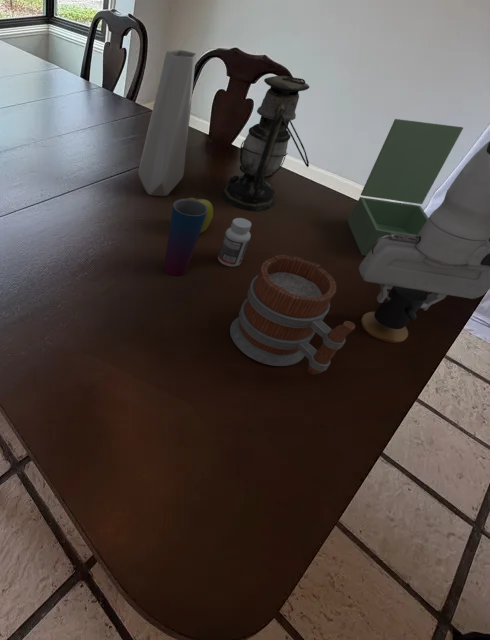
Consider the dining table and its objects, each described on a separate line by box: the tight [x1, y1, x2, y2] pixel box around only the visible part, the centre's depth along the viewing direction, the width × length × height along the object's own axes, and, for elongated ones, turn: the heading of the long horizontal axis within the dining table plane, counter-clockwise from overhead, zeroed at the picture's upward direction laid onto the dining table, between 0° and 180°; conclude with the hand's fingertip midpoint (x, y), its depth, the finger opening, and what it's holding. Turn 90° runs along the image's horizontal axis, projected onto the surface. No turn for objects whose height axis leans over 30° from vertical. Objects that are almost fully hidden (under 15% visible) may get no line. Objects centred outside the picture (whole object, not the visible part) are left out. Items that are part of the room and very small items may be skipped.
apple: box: [187, 193, 214, 234], centre depth 106 cm, size 8×8×10 cm
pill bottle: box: [217, 217, 252, 268], centre depth 97 cm, size 5×5×10 cm
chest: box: [346, 196, 429, 257], centre depth 108 cm, size 17×15×7 cm
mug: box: [229, 254, 356, 376], centre depth 76 cm, size 14×19×15 cm
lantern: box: [220, 75, 310, 212], centre depth 112 cm, size 19×19×30 cm
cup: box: [163, 198, 208, 277], centre depth 92 cm, size 7×7×15 cm
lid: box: [360, 118, 464, 205], centre depth 108 cm, size 18×15×5 cm
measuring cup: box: [374, 286, 428, 329], centre depth 82 cm, size 8×6×7 cm
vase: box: [137, 49, 197, 197], centre depth 111 cm, size 12×12×33 cm
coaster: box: [360, 311, 409, 344], centre depth 87 cm, size 8×8×1 cm
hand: (400, 304), depth 83 cm, fingers closed on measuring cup, 5 cm apart
